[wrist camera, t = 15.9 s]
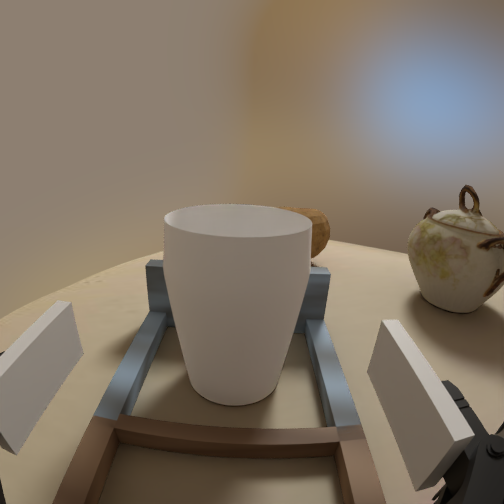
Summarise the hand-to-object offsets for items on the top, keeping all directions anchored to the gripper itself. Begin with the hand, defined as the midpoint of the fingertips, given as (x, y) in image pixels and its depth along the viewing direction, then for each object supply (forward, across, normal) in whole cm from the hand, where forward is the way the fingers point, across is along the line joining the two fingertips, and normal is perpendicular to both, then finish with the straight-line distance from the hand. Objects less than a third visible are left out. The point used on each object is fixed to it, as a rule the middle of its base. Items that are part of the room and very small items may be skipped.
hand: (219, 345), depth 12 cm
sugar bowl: (+22, +28, -9) cm, 36 cm away
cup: (+8, 0, -9) cm, 12 cm away
